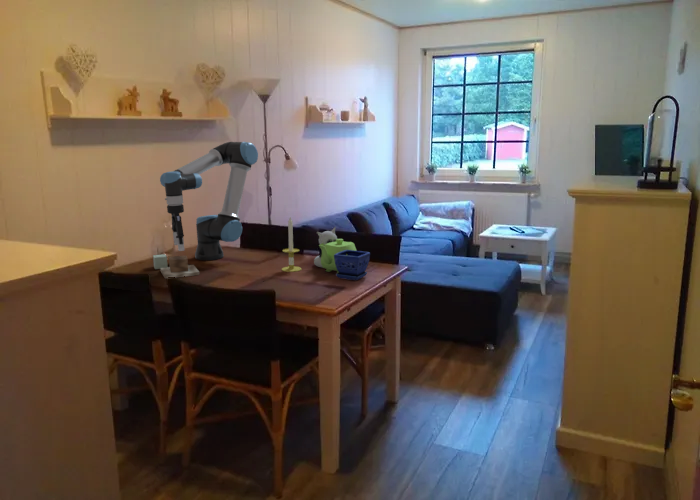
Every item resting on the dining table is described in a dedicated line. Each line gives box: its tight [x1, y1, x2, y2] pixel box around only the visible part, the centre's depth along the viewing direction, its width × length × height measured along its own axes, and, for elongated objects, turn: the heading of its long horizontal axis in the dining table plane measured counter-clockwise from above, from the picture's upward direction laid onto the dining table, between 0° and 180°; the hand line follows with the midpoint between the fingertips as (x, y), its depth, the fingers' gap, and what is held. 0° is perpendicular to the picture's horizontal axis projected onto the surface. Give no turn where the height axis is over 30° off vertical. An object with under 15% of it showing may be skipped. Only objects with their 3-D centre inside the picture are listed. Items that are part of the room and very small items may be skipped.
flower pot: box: [334, 250, 371, 281], centre depth 260 cm, size 13×13×12 cm
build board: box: [159, 264, 200, 280], centre depth 271 cm, size 16×16×2 cm
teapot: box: [318, 238, 357, 274], centre depth 274 cm, size 25×22×16 cm
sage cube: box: [152, 253, 169, 270], centre depth 282 cm, size 6×6×6 cm
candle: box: [281, 216, 302, 273], centre depth 275 cm, size 10×10×27 cm
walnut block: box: [168, 255, 189, 273], centre depth 270 cm, size 8×8×6 cm
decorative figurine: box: [313, 227, 338, 269], centre depth 283 cm, size 15×15×20 cm
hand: (179, 247), depth 269 cm, fingers open, 13 cm apart
